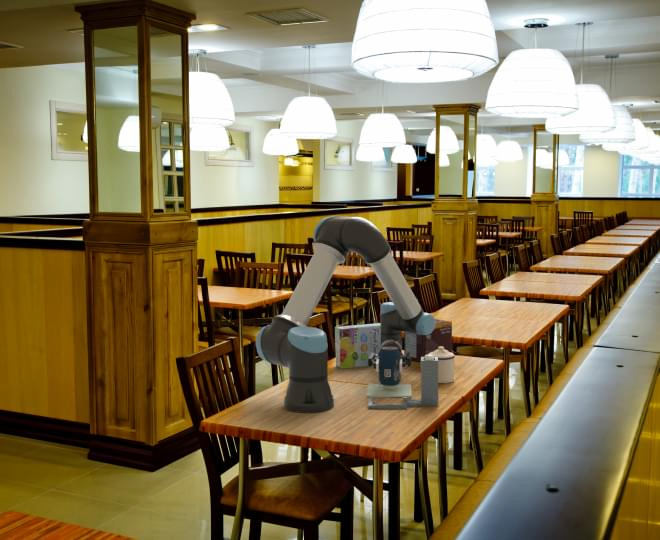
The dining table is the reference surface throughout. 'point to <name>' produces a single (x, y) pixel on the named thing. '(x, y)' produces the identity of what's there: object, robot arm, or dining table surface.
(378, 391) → the pad
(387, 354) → the soda can
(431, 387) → the grey l-shaped piece
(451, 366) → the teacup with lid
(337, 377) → the dining table surface
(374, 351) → the snack box
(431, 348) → the supplement box
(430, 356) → the plunger
